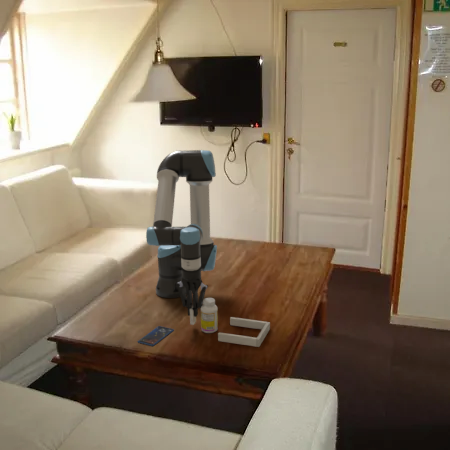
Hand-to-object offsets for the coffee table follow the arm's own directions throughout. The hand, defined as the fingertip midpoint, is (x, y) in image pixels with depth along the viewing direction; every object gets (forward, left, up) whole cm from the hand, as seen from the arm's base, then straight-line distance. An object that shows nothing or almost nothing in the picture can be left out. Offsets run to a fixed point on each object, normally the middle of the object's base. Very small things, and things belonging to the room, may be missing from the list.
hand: (193, 323), depth 231 cm
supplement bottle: (+7, 0, -2) cm, 7 cm away
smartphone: (-11, -11, -3) cm, 16 cm away
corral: (+21, 0, -2) cm, 21 cm away
